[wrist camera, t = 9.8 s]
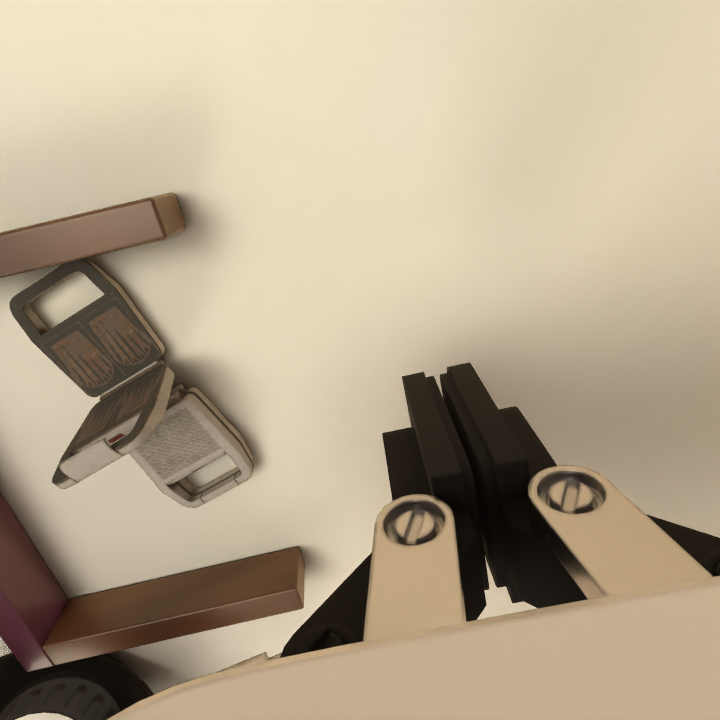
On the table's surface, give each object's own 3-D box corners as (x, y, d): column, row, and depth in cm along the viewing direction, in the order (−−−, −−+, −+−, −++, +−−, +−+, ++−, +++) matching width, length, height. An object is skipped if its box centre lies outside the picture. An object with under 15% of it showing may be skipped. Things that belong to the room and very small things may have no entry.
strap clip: (264, 460, 17) (249, 551, 13) (192, 500, 17) (157, 600, 13) (91, 247, 14) (2, 282, 10) (8, 301, 14) (-110, 356, 10)
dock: (175, 191, 13) (152, 196, 11) (305, 564, 19) (304, 609, 17) (-178, 274, 13) (-256, 293, 12) (54, 622, 19) (26, 672, 17)
